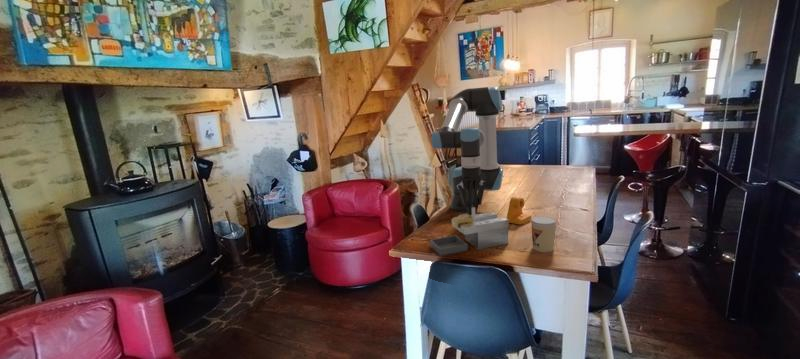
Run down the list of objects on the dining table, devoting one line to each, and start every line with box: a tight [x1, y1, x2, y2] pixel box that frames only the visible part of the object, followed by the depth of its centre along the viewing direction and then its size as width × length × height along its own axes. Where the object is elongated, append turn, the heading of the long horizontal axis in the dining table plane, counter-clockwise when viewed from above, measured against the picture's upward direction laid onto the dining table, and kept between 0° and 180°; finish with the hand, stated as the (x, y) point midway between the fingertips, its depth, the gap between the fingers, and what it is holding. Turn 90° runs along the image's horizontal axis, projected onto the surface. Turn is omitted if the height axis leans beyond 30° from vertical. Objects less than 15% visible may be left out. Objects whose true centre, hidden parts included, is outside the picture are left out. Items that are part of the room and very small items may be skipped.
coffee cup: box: [530, 215, 557, 253], centre depth 149 cm, size 9×9×12 cm
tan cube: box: [461, 215, 473, 224], centre depth 156 cm, size 4×4×4 cm
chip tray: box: [429, 234, 469, 257], centre depth 156 cm, size 11×12×3 cm
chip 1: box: [452, 216, 465, 229], centre depth 155 cm, size 4×4×4 cm
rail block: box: [451, 211, 509, 250], centre depth 159 cm, size 12×20×10 cm, turn 107°
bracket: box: [506, 196, 532, 226], centre depth 181 cm, size 11×7×12 cm, turn 132°
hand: (472, 221), depth 157 cm, fingers closed
